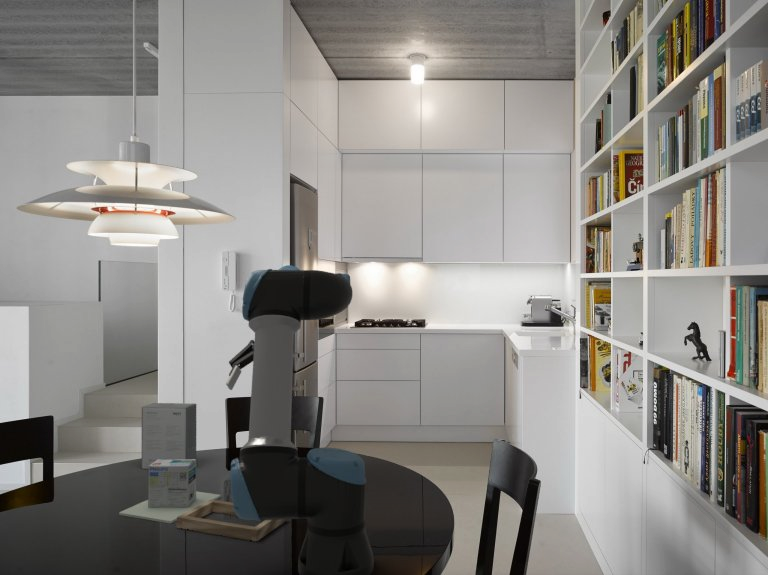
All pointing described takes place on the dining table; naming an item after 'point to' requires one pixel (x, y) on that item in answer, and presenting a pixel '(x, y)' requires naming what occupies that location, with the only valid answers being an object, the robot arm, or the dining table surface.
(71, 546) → the dining table surface
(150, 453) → the hard drive box
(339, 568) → the robot arm
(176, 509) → the sage mat
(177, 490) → the light bulb box
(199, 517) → the oak frame
